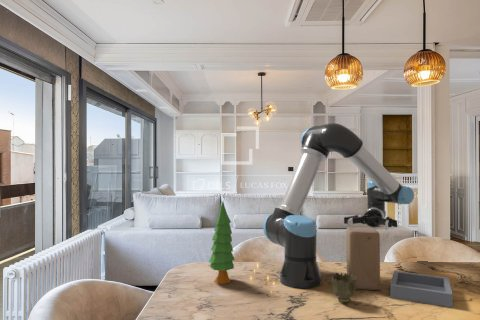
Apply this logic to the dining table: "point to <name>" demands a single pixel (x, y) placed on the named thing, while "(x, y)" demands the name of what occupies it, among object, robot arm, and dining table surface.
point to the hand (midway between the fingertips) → (367, 225)
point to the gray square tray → (421, 288)
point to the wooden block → (364, 257)
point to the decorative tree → (222, 247)
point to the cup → (344, 286)
